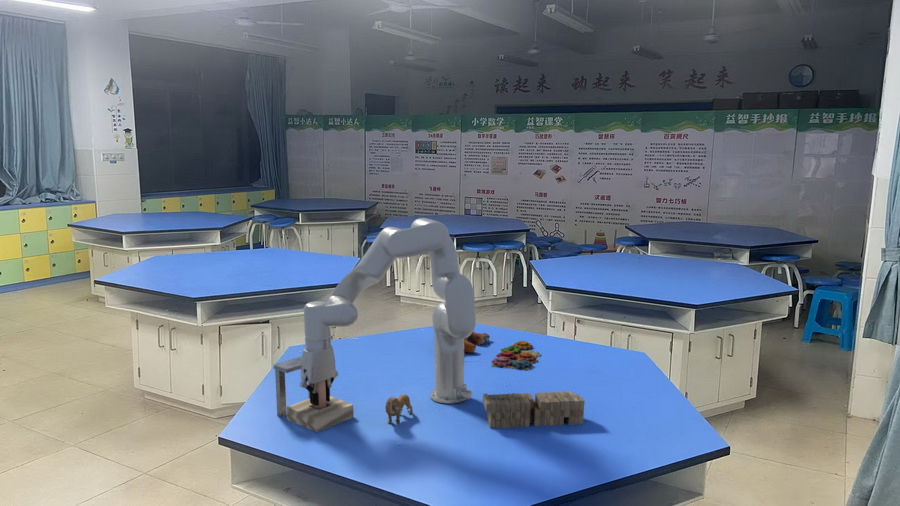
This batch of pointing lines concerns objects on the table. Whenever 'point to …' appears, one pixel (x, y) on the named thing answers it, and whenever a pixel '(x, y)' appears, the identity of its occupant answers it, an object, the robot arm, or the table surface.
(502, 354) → the gear puzzle
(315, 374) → the robot arm
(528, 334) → the table surface
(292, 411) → the socket block
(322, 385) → the peg
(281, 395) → the grey piece
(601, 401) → the table surface
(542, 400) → the block tower
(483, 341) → the camel toy
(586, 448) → the table surface
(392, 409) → the lion figurine
